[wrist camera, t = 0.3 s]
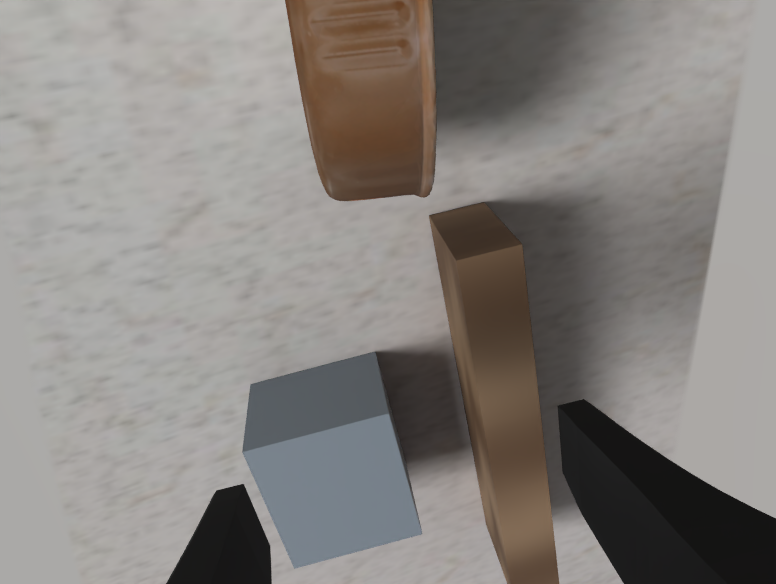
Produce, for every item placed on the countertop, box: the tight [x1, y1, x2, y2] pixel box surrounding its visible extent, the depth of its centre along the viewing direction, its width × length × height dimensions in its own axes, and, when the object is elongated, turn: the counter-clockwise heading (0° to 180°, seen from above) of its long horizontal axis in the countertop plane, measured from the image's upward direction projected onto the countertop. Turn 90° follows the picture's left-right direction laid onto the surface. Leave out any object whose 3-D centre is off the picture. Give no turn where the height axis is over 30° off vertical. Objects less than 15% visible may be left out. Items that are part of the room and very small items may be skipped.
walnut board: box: [429, 202, 559, 584], centre depth 23 cm, size 16×2×4 cm, turn 12°
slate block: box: [242, 352, 422, 569], centre depth 23 cm, size 6×5×4 cm
